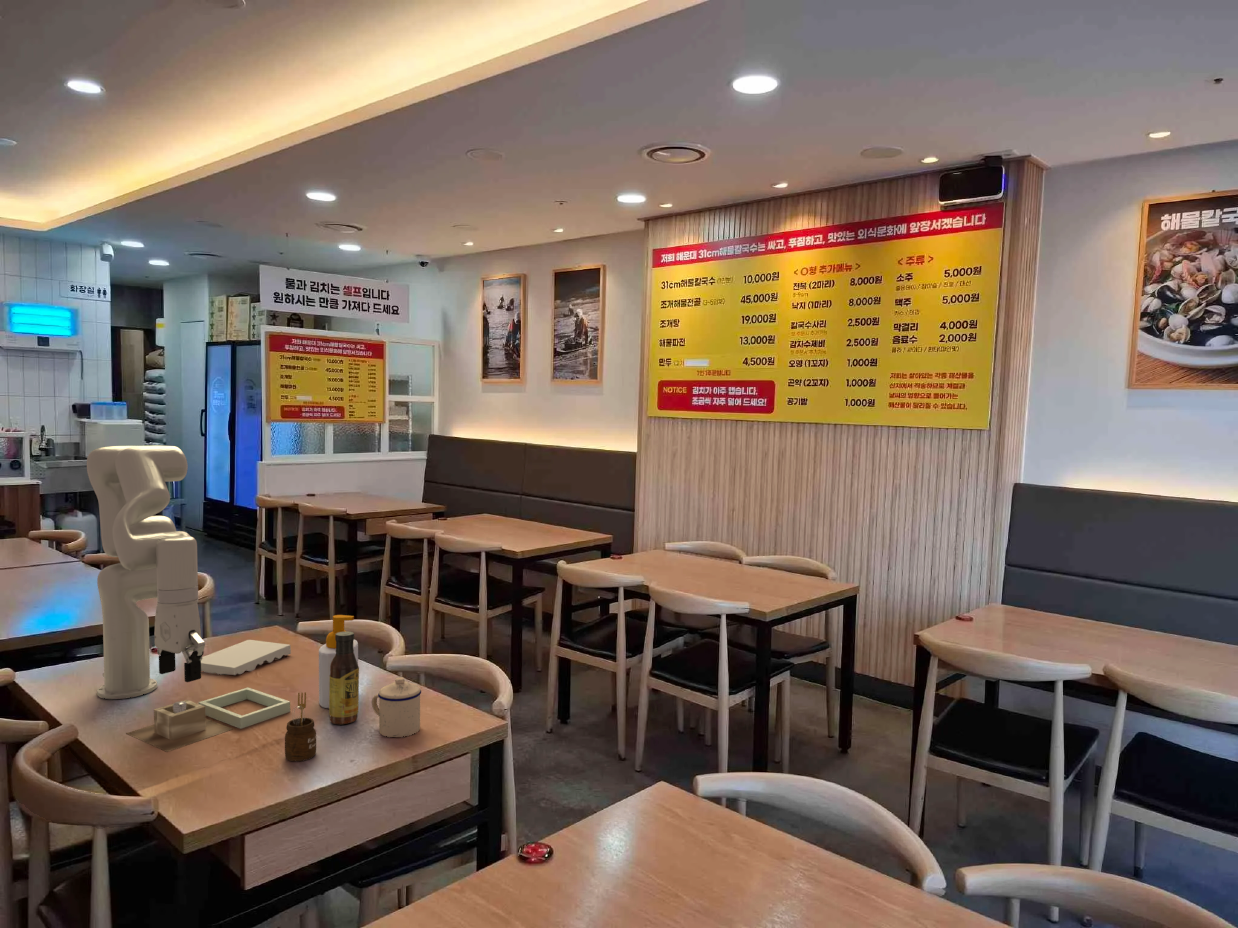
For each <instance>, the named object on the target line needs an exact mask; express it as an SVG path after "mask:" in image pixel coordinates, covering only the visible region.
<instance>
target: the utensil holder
mask: <svg viewBox="0 0 1238 928" xmlns="http://www.w3.org/2000/svg"><path fill="white" fill-rule="evenodd" d="M297 693H298V694H297V706H296V705H295V707H294V709H293V710H291V711H292V712H291V713H293V714H296V712H295V711H296V709H298V710H299V711H300V717H296V718H295V719H294V716H291V720H289V721H288V722H287V723H286V733H285V734H284V756H285V758H286V760H288V761H289V760H290V761H291V762H296V761H297V762H304V761H308V760H310V759H312V758H313V757H315V755H316V754H317V732H316V729H315V721H314V719H312V718H310V717H304V715H305V714H306V712H305V708H306V706H307V692H304V693H303V692H301V693H300V692H297ZM303 700H304V701H303ZM303 760H304V761H303Z"/></svg>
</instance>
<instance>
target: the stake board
mask: <svg viewBox="0 0 1238 928" xmlns="http://www.w3.org/2000/svg"><path fill="white" fill-rule="evenodd" d="M205 721H206V730H203V731H200V732H197V733H194V734H191V735H188V736H185V737H182V738H179V739H176V740H173V741H172V740H170V739H168V738H165V737H163V736H161V735H158V734H156V733H154V724H152V725H151V724H150V725H147V726H145V727H141V728H138V729H135V730H131V731H129V732H126V733H125V734H126V735H128V736H131V737H133V738H135V739H138V740H139V741H142V742H144V743H145V744H148V745H150V746H152V747H155V748H157V749H159V750H162V751H164V752H166V753H168V752H171V751H174V750H177V749H180V748H183V747H186V746H189V745H192V744H194V743H198V742H201V741H204V740H206V739H210V738H212V737H215V736H218V735H221V734H223V733H226V732H227V733H228V732H230V731H233V730H234V728H232V727H229V726H227V725H224V724H222V723H219V722H216V721H213V720H211V719H208V718H206V717H205Z"/></svg>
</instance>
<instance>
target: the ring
mask: <svg viewBox="0 0 1238 928" xmlns="http://www.w3.org/2000/svg"><path fill="white" fill-rule="evenodd" d="M183 701H185V702H186V710H185V711H182V712H179V713H175V714H174V713H173V704H174V703H171V704H167V705H165V706H161V707H158V708H154V709H153V725H154V733H156V734H158V735H161V736H163V737H165V738H168V739H170V740H172V741H173V740H176V739H179V738H182V737H185V736H188V735H191V734H194V733H197V732H200V731H203V730H206V721H205V718H206V715H205V706H202V705H200V704H198V702H194V701H192V700H189V699H185V700H183Z"/></svg>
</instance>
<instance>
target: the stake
mask: <svg viewBox="0 0 1238 928" xmlns="http://www.w3.org/2000/svg"><path fill="white" fill-rule="evenodd" d="M172 704H173V713H174V714H175V713H179V712H182V711H185V710H186V702H185V701H184V700H182V701H181V700H180V701H176V702H174V703H172Z"/></svg>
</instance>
